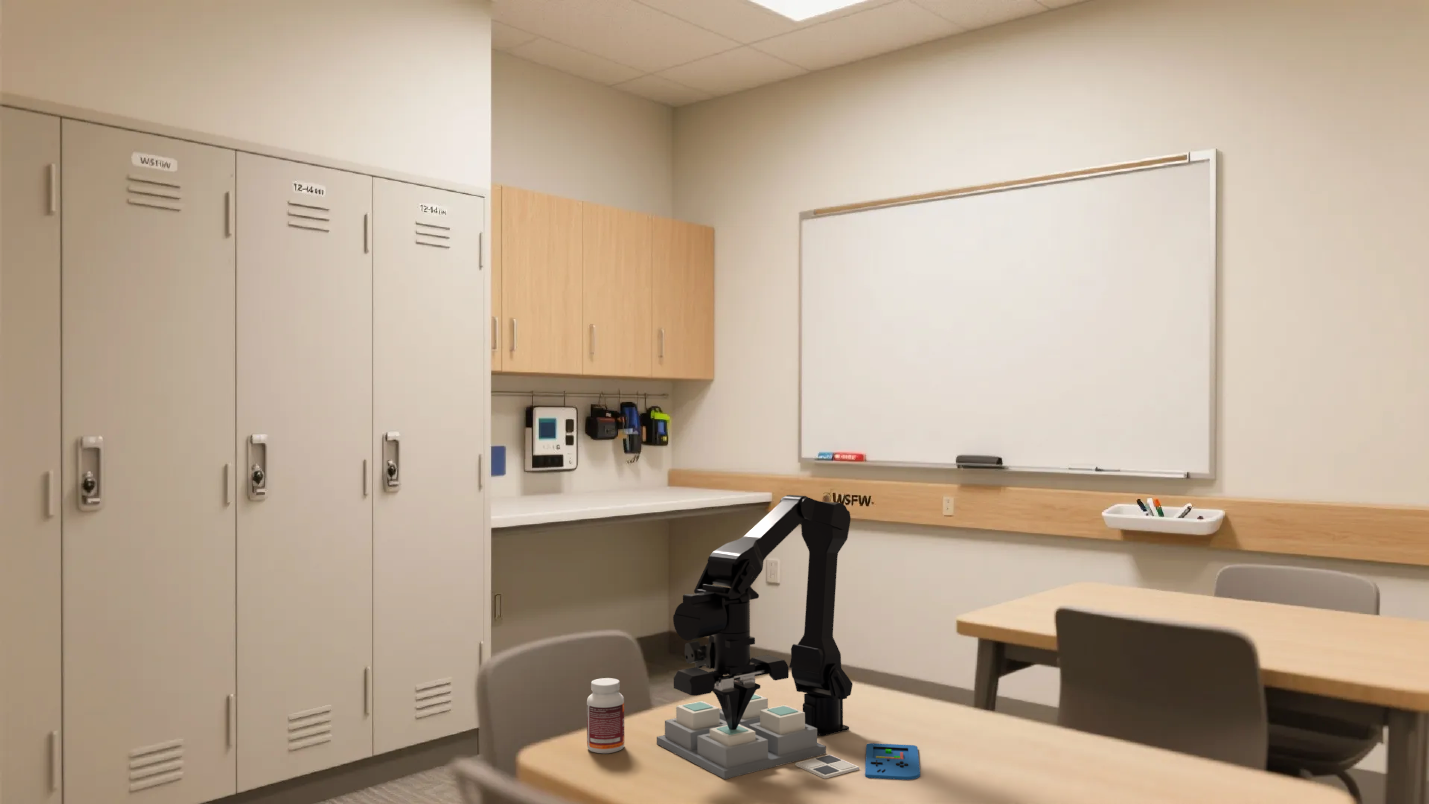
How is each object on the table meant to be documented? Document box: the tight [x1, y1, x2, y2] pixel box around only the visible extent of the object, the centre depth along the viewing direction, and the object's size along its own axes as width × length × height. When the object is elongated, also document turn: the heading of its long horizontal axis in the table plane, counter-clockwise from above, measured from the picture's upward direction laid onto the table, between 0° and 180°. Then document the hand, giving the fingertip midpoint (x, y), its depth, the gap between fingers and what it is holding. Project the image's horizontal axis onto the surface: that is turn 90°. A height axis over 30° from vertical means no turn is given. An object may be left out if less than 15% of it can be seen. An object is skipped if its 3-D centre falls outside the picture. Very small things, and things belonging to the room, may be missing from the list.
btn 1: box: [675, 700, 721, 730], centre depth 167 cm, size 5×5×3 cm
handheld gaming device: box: [864, 742, 921, 781], centre depth 159 cm, size 8×1×15 cm
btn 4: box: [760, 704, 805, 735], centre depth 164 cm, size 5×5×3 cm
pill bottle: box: [586, 677, 625, 754], centre depth 166 cm, size 6×6×11 cm
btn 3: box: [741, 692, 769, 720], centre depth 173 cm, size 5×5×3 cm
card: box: [795, 754, 860, 780], centre depth 157 cm, size 7×7×1 cm
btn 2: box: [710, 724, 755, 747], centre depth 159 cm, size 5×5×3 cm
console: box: [656, 708, 827, 780], centre depth 166 cm, size 20×20×4 cm
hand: (732, 729), depth 159 cm, fingers closed, pressing on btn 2
